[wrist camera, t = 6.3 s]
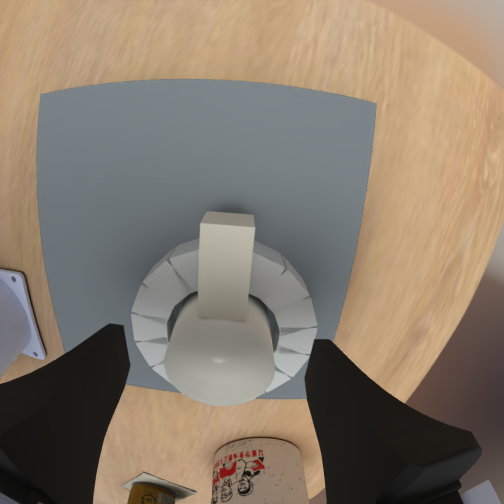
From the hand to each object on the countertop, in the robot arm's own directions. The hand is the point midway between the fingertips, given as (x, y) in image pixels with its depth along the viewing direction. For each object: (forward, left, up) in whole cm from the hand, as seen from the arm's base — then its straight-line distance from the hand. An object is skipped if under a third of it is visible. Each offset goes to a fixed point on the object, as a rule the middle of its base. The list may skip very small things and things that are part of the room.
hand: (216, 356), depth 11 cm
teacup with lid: (+3, -21, -8) cm, 23 cm away
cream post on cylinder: (0, 0, -6) cm, 6 cm away
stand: (-2, +1, -7) cm, 8 cm away
